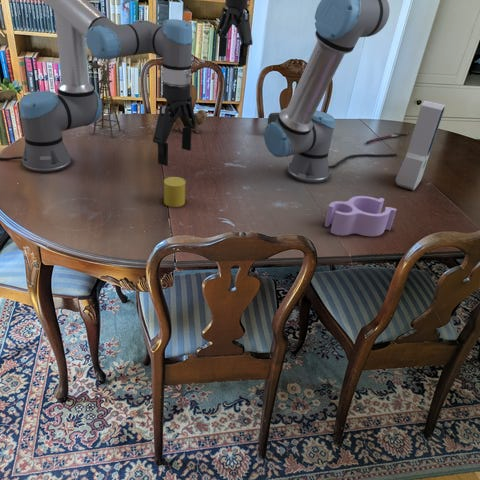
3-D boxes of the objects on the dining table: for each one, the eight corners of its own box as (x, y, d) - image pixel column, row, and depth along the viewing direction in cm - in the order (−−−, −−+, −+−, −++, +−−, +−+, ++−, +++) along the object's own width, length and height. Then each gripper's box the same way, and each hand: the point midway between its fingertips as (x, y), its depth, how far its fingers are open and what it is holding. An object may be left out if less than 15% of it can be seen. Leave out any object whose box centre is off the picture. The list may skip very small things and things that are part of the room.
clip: (337, 240, 135) (342, 219, 131) (318, 218, 145) (322, 198, 141) (395, 233, 141) (402, 213, 137) (373, 213, 151) (378, 194, 147)
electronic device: (413, 191, 168) (440, 109, 151) (393, 185, 171) (417, 104, 154) (421, 180, 177) (448, 101, 161) (402, 174, 180) (426, 96, 164)
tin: (187, 198, 148) (187, 178, 144) (182, 208, 143) (182, 187, 139) (166, 195, 148) (167, 175, 145) (161, 205, 143) (161, 184, 139)
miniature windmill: (112, 137, 184) (107, 58, 168) (92, 134, 185) (85, 54, 169) (121, 130, 192) (117, 53, 176) (102, 127, 193) (96, 50, 177)
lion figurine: (203, 128, 203) (204, 107, 198) (207, 132, 199) (208, 111, 194) (170, 129, 198) (170, 108, 193) (173, 133, 194) (173, 112, 189)
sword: (404, 132, 223) (404, 129, 222) (409, 134, 221) (409, 132, 220) (360, 143, 207) (361, 141, 206) (365, 146, 205) (366, 143, 204)
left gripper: (164, 96, 115) (163, 174, 126) (209, 77, 135) (205, 146, 146) (138, 90, 117) (140, 168, 129) (186, 72, 137) (184, 140, 148)
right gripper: (208, -11, 163) (205, 53, 174) (248, -1, 146) (241, 69, 157) (227, -10, 167) (223, 52, 178) (267, 0, 150) (259, 68, 161)
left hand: (175, 156), depth 137 cm, fingers open, 13 cm apart
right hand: (231, 60), depth 168 cm, fingers open, 13 cm apart
